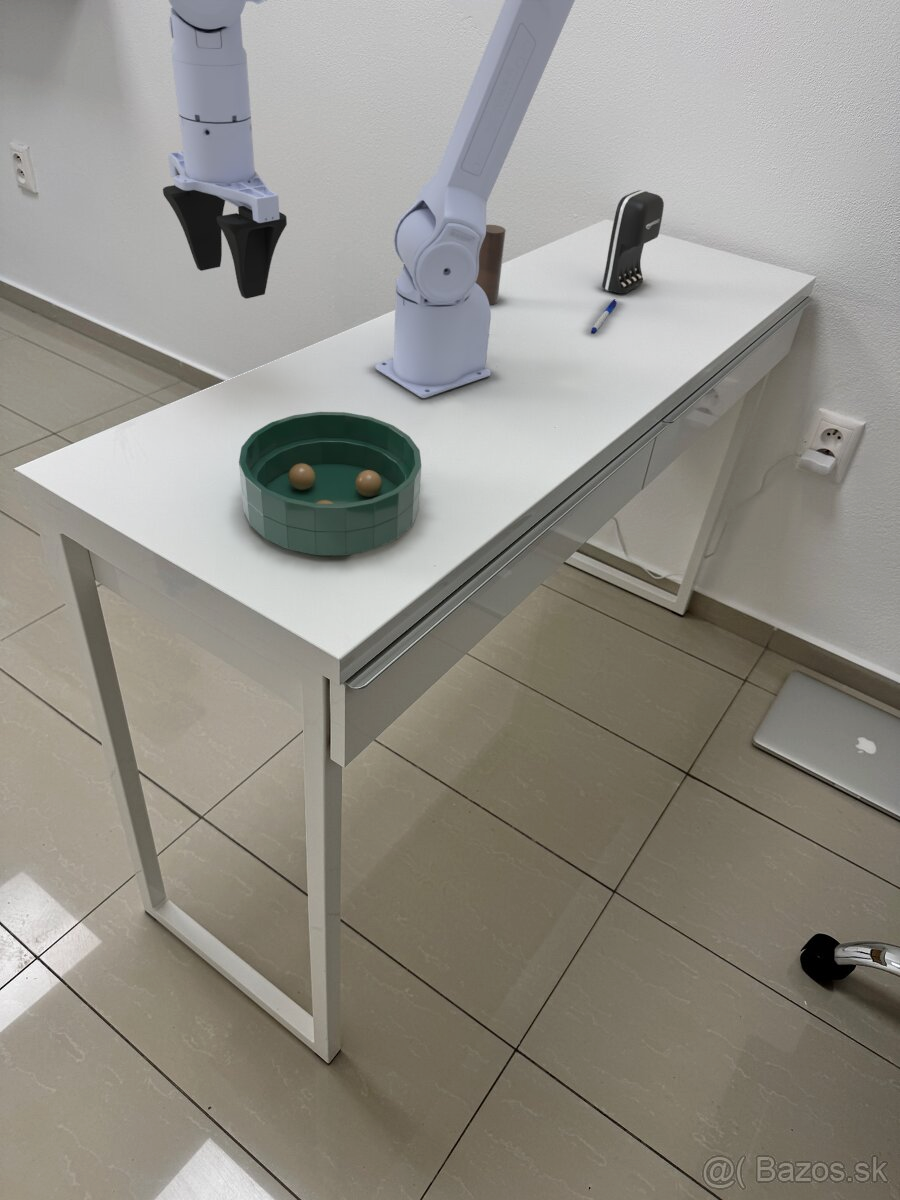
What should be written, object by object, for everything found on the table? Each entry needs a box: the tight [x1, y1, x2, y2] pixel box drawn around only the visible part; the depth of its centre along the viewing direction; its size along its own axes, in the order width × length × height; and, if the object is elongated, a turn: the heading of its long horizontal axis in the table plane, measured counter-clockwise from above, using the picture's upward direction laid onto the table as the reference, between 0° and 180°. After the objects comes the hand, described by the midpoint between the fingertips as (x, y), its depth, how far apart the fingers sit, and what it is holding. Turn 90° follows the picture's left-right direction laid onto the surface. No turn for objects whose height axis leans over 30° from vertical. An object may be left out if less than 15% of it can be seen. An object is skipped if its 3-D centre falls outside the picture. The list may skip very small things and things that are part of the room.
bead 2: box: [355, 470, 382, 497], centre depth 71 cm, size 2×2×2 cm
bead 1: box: [288, 463, 315, 490], centre depth 71 cm, size 2×2×2 cm
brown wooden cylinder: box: [475, 224, 507, 306], centre depth 104 cm, size 3×3×8 cm
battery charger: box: [601, 189, 665, 294], centre depth 110 cm, size 7×4×11 cm, turn 143°
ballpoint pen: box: [590, 298, 617, 334], centre depth 106 cm, size 10×1×1 cm, turn 159°
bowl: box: [238, 411, 422, 557], centre depth 70 cm, size 14×14×5 cm
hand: (230, 281), depth 80 cm, fingers open, 7 cm apart
